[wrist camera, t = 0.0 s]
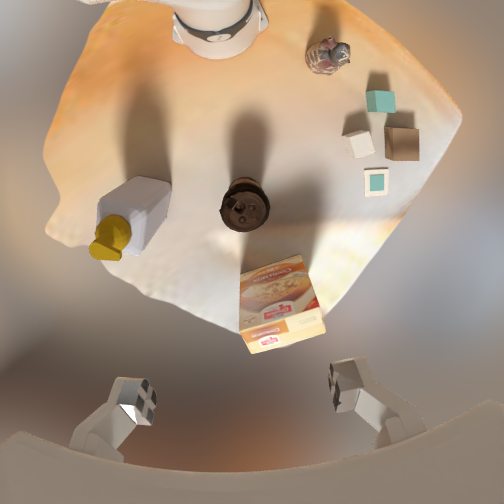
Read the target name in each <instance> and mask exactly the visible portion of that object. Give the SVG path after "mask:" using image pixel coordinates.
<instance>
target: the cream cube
mask: <svg viewBox="0 0 504 504" xmlns="http://www.w3.org/2000/svg"><path fill="white" fill-rule="evenodd" d="M342 139H343V142H344V145H345V148H346V151H347V154H348V156H350V157H352V158H355V159H358V158H361V157H364V156H367V155H370V154H373V153H375V150H374V147H373V143H372V140H371V136H370V133H369V131H363V130H359V131H355V132H352V133H349V134H346V135H343V136H342Z"/></svg>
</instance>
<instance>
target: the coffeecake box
mask: <svg viewBox="0 0 504 504" xmlns="http://www.w3.org/2000/svg"><path fill="white" fill-rule="evenodd" d="M239 331H240V333H241V335H242V337H243V339H244V341H245V343H246V345H247V347H248V348H249V350H250V352H251V354H254V353H258V352H262V351H266V350H269V349H273V348H277V347H280V346H284V345H287V344H291V343H294V342H297V341H301V340H304V339H307V338H310V337H314V336H317V335H319V334H323V333H325V332H326V328H325V325H324V320H323V316H322V313H321V309H320V306H319V303H318V300H317V297H316V294H315V292H314V289H313V286H312V283H311V281H310V278H309V275H308V273H307V270H306V267H305V265H304V262H303V260H302V257H301V255H297V256H294V257H291V258H288V259H285V260H282V261H279V262H276V263H273V264H270V265H267V266H264V267H261V268H258V269H255V270H252V271H249V272H246V273H243V274H240V308H239Z"/></svg>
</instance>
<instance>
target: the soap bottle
mask: <svg viewBox="0 0 504 504" xmlns="http://www.w3.org/2000/svg"><path fill="white" fill-rule="evenodd" d="M171 190H172V188H171V184H169V183H168V182H166V181H161V180H157V179H152V178H147V177H143V176H136V177H134V178H132V179H130V180H129V181H127V182H125V183H124V184H122V185H120V186H119V187H117V188H116V189H114V190H112V191H111V192H109V193H108V194H106V195H105V196H103V197H102V198H100V201H99V203H98V208H97V226H96V232H95V236H96V239H95V240H94V241H93V242H92V243H91V245H90V246H89V252H90V254H91V255H92V257H93V258H95V259H98V260H112V261H119V260H120V259H121V257H122V253H126V254H129V255H133V256H135V255H141V253H142V252H143V250H144V249H145V247H146V246H147V244H148V243H149V242H150V240H151V239H152V237H153V236H154V234H155V233H156V231H157V230H158V229H159V227H160V226H161V224H162V223H163V222H164V220H165V219H166V217H167V212H168V206H169V201H170V196H171Z"/></svg>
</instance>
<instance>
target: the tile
mask: <svg viewBox="0 0 504 504" xmlns="http://www.w3.org/2000/svg"><path fill="white" fill-rule="evenodd" d="M381 195H388V169H373V170H364V196H365V197H369V196H381Z"/></svg>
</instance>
